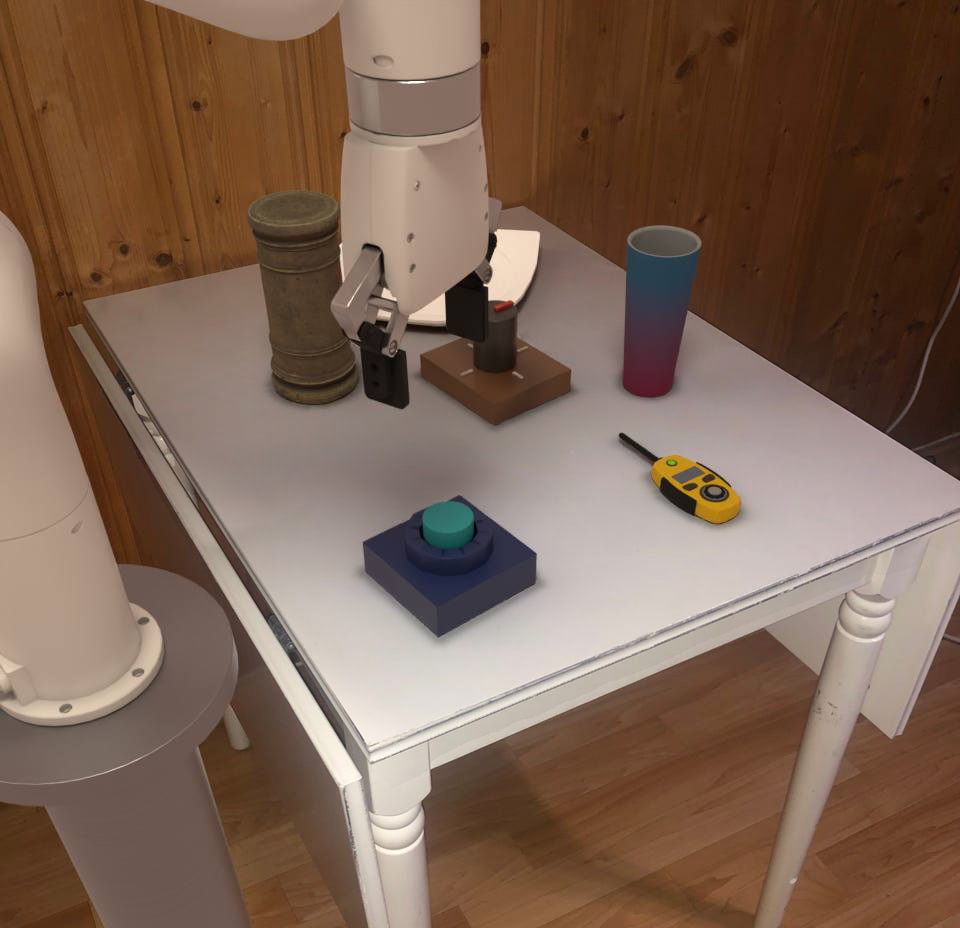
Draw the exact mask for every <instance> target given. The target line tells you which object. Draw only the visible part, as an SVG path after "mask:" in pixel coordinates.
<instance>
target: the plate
mask: <svg viewBox="0 0 960 928" xmlns="http://www.w3.org/2000/svg"><path fill="white" fill-rule="evenodd" d="M494 234H496V236H497V244H496V245H497V246H496V248H495V250H494V253H493V256H492V258H491V261H490V265H491V267H492V270H493V274H492V278H491V281H490V282H489V283H488V284H484V286H487V287H488V301H490V300H500V301H506V302H507V301H509V300H511V301H513V302H514V306H516V305H517V304H518V303H519V302H520V301H521V300H522V299H523V298H524V296H525V294H526V292H527V290H528V289H529V287H530V285H531V283H532V281H533V278H534V276H535V275H534V274H535V272H536V269H537V267H538V259H539V258H538V257H539V250H540V241H541V232H539V231H537V230H521V229H520V230H519V229H501V228H500V229H499V228H497V232H495V233H494ZM339 246H340V249H341V254H340V264H341V272H342V279H343V282H344V280H345V278H344V267H343V253H342V242H341V243H340V244H339ZM381 297H383V298H387V299H390V300H393V301H397V298H395V297H392V295H391V292H390V290H387V289H385V288H384V289H383V292H382V295H381ZM390 316H391V313H390V312H387V311H384V310H380V309H379V312H378V315H377V318H376V321H383V322H389V319H390ZM407 324H409V325H417V326H418V325H419V326H429V327H446V312H445V293H443V294H442V295H441V296H439V297H438V298H437V299H435V300H434V301H432V302H431V303H429V304H428V305H427V306H425V307H424V308H422V309H421V310H419V311H417V312H415V313H413V314H411V315H409V318H408V321H407ZM407 324H406V325H407Z"/></svg>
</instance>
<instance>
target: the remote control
mask: <svg viewBox="0 0 960 928" xmlns="http://www.w3.org/2000/svg"><path fill="white" fill-rule="evenodd" d="M618 438H619V439H620V440H622V441H623V442H625V443H626V444H627V445H628V446H630V447H631V448H633V449H634V450H636V451H637V452H638V453H640V454H642V455H643V456H644V457H646V458H647V459H648V460H650V461H651V462H652V463H653V465H652V467H651V469H652V470H651V479H652V480H653V482H654V483H655V484H656V486H657V487H658V488H659V491H660V492H661V493H662V494H663V496H664V497H665V498H667V499H668V500H669V501H670V502H671V503H672V504H674V505H675V506H677V507H678V508H679V509H681V510H683V511H685V512H686V513H688V514H690V515H691V516H698V517H699V518H701V519H703V520H706V521H708V522H710V523H712V524H722V523H725V522H727V521H730V520H731V519H734V518H735V517H736V516H737V515H738V514H739V513H740V510H741V507H742V506H741V505H742V499H741V497H740V496H739V494H738V493H737V492H736V490H734V488H732V485H731V484H730V483H729V482H728V481H727V480H726V479H725V478H724V477H723V476H721V475H720V474H719V473H717V472H716V471H714V470H713V469H711V468H709V467H708V466H706V465H705V464H702V463H701V462H698V461H696V462H695V461H693V460H691V459H688V458H687V457H684V456H682V455H679V454H670V455H667V456H664V457H658V456H656V455H655V454H654V453H652V452H651V451H649V450H648V449H647V448H645V447H644V446H642V445H641V444H640V443H638V442H637V441H635V440H634V439H633V438H631V437H630V436H628V435H627V434H626V433H624V432H619V433H618Z"/></svg>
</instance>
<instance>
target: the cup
mask: <svg viewBox="0 0 960 928" xmlns="http://www.w3.org/2000/svg"><path fill="white" fill-rule="evenodd" d="M701 249H702V240H701V238H700V237H699V235H697V234H696V233H694V232H693V231H691V230H688V229H685V228H682V227H678V226H673V225H659V224H658V225H648V226H643V227H640V228H638V229H635V230H634V231H632V232H630V233H629V234H628V236H627V240H626V266H625V267H626V270H625V272H626V273H625V298H624V299H625V300H624V307H625V308H624V330H623V362H622V363H623V365H622V385H623V388H624V389H625V390H626V391H628V392H629V393H631V394H633V395H635V396H637V397H638V396H639V397H645V398H654V397H661V396H664V395H666V394H668V393H669V392H670V391H671V389H672V387H673V383H674V378H675V374H676V368H677V363H678V359H679V355H680V349H681V345H682V340H683V335H684V330H685V325H686V322H687V315H688V310H689V306H690V302H691V297H692V292H693V287H694V282H695V277H696V273H697V267H698V263H699V257H700V253H701Z"/></svg>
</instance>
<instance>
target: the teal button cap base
mask: <svg viewBox="0 0 960 928" xmlns="http://www.w3.org/2000/svg"><path fill="white" fill-rule="evenodd" d="M447 501H454V502H459V503H462V504H464V505H466V506H467V507H469V508H470V509H471V511H472V512H473V516H474V535H473V538H472V540H471V541H470V542H469V543H468V544H466V545H464V546H462V547H459V548H449V549H443V548H439V547H435V546H431V545H429V544H428V543H427V542H426V541H425V539H424V536H423V520H422V516H423V513H424V511H425V510H426V509H427V508H428V507H429V506H427V507H425V508H422V509H420V510H419V511H416V512H414V513H413V514H412V515H411V516H410V517H409V519H406V520H405V521H403V522H401V523H398V524H396V525H394V526H392V527H390V528H388V529H386V530H384V531H382V532H380V533H378V534H376V535H374V536H372V537H370V538H368V539H365V540H363V541H362V550H363V551H362V553H363V560H364V571H365V573H366V574H368V575H369V577H370V578H372V579H373V580H375V582H376V583H377V584H379V585H380V587H382V588H383V589H384V590H385V591H386V592H387V593H389V595H391V596H392V597H393V598H394V599H395V600H396V601H397V602H398V603H400V604H401V605H402V606H403V608H405V609H407V610H408V611H409V612H410V613H411V614H412V615H413V616H414V617H415V618H416V619H417V620H419V621H420V622H421V624H423V625H424V627H426V628H427V629H429V631H430V632H432V633H433V634H434V635H435V636H436V637H438V638H440V637H441V636H443V635H445V634H447V633H449V632H451V631H452V630H454V629H456V628H458V627H460V626H461V625H463V624H465V623H466V622H469V621H470V620H472V619H474V618H476V617H478V616H479V615H481V614H483V613H485V612H486V611H488V610H490V609H492V608H494V607H495V606H497V605H499V604H501V603H503V602H505V601H506V600H508V599H510V598H512V597H514V596H515V595H518V594H519V593H521V592H523V591H524V590H526V589H527V588H530V587H532V586H533V585H536V581H537V563H538V561H537V560H538V559H537V557H538V553H537V552H536V551H534V550H533V549H532V548H531V547H529V546H528V545H526V544H525V543H524V542H523V541H522V540H520V539H518V537H516V536H515V535H513V534H512V533H511V532H509V530H507V529H506V528H504V527H503V526H501V524H499V523H498V522H497V521H495V520H494V519H493V518H492V517H490V516H489V515H487V514H486V513H484V512H483V511H482V510H481V509H479V507H477V506H475V505H474V504H472V502H470V501H469V500H468V499H466V498H465V497H463V496H462V495H461V494H458V495H456V496H454V497H452V498H450V499H448V500H447Z"/></svg>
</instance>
